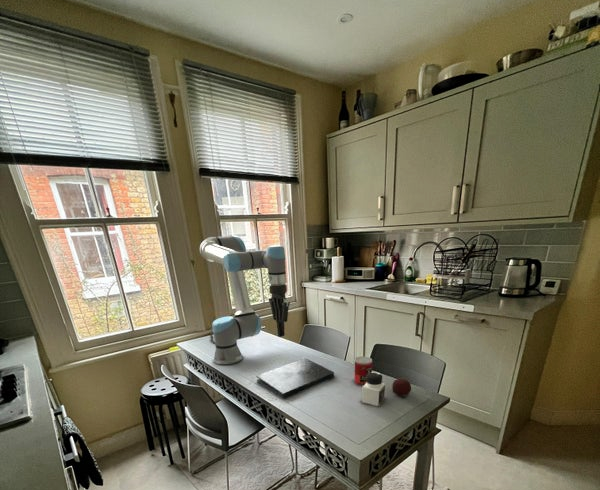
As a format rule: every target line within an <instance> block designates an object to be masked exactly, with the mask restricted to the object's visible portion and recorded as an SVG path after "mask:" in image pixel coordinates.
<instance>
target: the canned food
mask: <svg viewBox="0 0 600 490" xmlns="http://www.w3.org/2000/svg"><path fill="white" fill-rule="evenodd" d="M370 372H373V359H372V358H371V357H369V356H357V357H356V358H354V374H353V375H354V377H353V380H354V383H355V384H357V385H359V386H364V385H365V384H366V379H367V374H368V373H370Z"/></svg>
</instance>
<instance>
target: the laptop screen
mask: <svg viewBox="0 0 600 490" xmlns="http://www.w3.org/2000/svg"><path fill="white" fill-rule="evenodd" d="M332 374H334V375H335V372H334V371H333V370H331V369H328V368H326V367H324V366H323V365H320V364H318V363H317V362H315V361H312V360H311V359H308V358H306V357H304V358H301V359H298V360H296V361H294V362H291V363H288V364H285V365H281V366H279V367H277V368H273V369H271V370H268V371H266V372H262V373H260V374H257V375H256V376H255V377H256V378H257V379H260V380H262V381H263V382H265V383H266V384H268V385H269V386H270V387H272V388H273V389H275V390H276V391H278V392H279V393H281V394H282V395H285V394H287V393H290V392H292V391H294V390H297V389H299V388H301V387H304V386H306V385H308V384H311V383H313V382H316V381H318V380H320V379H323V378H325V377H327V376H330V375H332Z"/></svg>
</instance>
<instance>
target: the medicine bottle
mask: <svg viewBox="0 0 600 490" xmlns="http://www.w3.org/2000/svg"><path fill="white" fill-rule="evenodd" d="M361 389H362V390H361V402H362V403H363V404H368V405H371V406H375V407H379V406H380V405H381V404H382V402H383V401H384V399H385V393H386V383H384V382H383V375H382V373H380V372H378V371H372V372H370V373H368V374H367V379H366V384H365V385H362V388H361Z"/></svg>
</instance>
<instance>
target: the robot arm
mask: <svg viewBox="0 0 600 490" xmlns="http://www.w3.org/2000/svg"><path fill="white" fill-rule="evenodd" d="M199 253H200V256H201V258H203V259H204V260H205V261H207V262H210V263H214V262H215V263H217V264H219V265H220V264H221V265H222V266H223V267H224V269H225V271H226V272H227V273H226V274H227V276H228V281H229V286H230V290H231V294H232V299H233V303H234V308H235V313H234V314H233V316H234V317H233V316H231V315H230V316H229V315H227V316H223V317H222V316H221V317H219V318H217V319H215V320H214V321H213V322H212V324H211V327H212V333H213V335H212V333H210V334H209V336H210V341H211V342H212V343H213V344H214V345H215V351H214V356H213V361H214V363H215V364H216V365H222V366H227V365H233V364H237V363H238V362H240V361H242V360H243V354H242V352H241V350H240V348H239V346H238V340H242V339H246V338H251V337H255V336H257V335H259V334H260V333H261V330H262V319H261V317H260V315H259V314H257V313H256V311H255V310H254V309H253V308H252V304H251V300H250V296H249V291H248V286H247V281H246V277H245V272H244V271H251V270H259V269H267V274H268V283H269V290H268V291H269V294H270V295H271V297H270V298H268V302H269V306H270V309H271V315H272V319H273V321H275V323H276V329H277V337H278V338H282V337H284V336H285V335H286V334H285V323H287V322H288V320H289V319H288V316H289V309H290V308H289V307H290V304H291V302H290V301H287V297H286V294H287V292H288V288H287V286H288V285H287V270H286V266H287V265H286V253H285V247H284V246H283V245H268V246H266V249H264V248H263V249H257V250H248V251H247V248H246V244H245V242H244V240H243V238H241V237H240V236H238V235H225V236H224V235H223V236H222V235H221V236H210V237H207V238H205V239H204V240H203V241H202V242H201V243H200V245H199Z"/></svg>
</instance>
